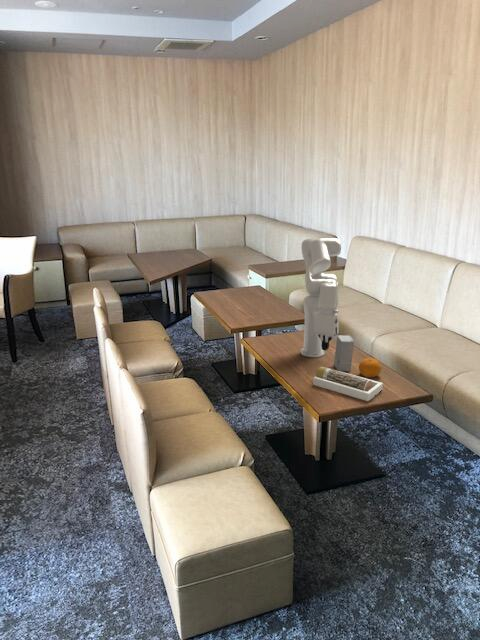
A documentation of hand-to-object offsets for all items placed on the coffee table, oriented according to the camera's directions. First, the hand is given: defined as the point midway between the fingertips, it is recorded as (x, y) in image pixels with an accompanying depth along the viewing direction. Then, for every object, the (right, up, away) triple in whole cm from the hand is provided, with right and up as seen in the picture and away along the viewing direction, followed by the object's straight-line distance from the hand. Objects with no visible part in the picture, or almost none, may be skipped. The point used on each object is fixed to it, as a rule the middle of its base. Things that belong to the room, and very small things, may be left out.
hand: (325, 349), depth 240 cm
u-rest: (+9, -17, -2) cm, 19 cm away
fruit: (+23, -13, +10) cm, 28 cm away
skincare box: (+12, -10, +19) cm, 24 cm away
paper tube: (-2, -11, +4) cm, 12 cm away
